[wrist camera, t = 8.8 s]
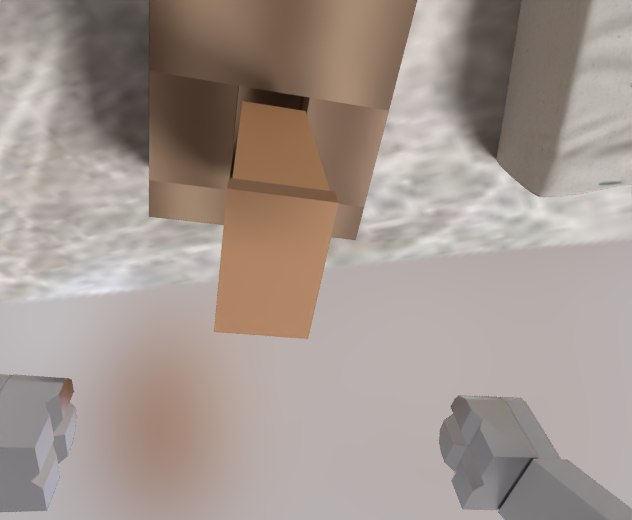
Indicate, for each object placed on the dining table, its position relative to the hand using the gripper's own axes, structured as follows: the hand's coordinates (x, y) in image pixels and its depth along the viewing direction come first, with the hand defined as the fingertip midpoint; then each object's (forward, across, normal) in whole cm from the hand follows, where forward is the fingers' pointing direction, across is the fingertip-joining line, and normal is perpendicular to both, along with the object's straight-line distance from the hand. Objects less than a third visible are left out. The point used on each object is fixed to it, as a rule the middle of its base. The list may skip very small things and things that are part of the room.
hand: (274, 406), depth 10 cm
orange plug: (+16, 0, 0) cm, 16 cm away
